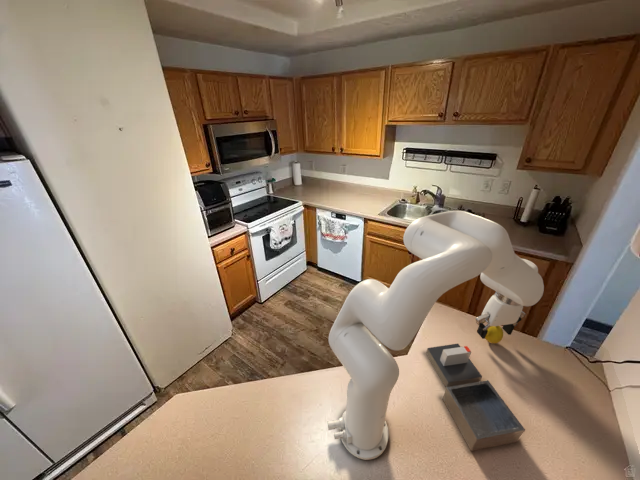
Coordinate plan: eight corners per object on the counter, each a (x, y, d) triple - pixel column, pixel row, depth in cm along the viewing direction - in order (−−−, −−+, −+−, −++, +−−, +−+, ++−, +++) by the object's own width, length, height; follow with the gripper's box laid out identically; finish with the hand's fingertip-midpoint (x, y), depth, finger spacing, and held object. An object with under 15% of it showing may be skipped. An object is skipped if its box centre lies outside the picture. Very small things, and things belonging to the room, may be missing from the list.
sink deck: (446, 388, 77) (448, 382, 75) (425, 353, 87) (427, 347, 86) (479, 382, 78) (482, 376, 77) (456, 349, 88) (458, 343, 87)
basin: (470, 450, 63) (477, 439, 60) (442, 399, 74) (446, 387, 71) (517, 441, 65) (525, 429, 62) (482, 392, 76) (488, 380, 73)
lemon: (484, 332, 94) (491, 316, 90) (501, 342, 91) (509, 326, 87) (478, 340, 91) (484, 324, 87) (495, 351, 87) (502, 334, 84)
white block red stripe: (443, 366, 80) (447, 355, 77) (439, 360, 82) (443, 349, 79) (467, 362, 81) (471, 351, 78) (463, 356, 83) (467, 345, 80)
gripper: (524, 284, 85) (507, 322, 93) (476, 290, 83) (463, 328, 91) (545, 300, 78) (525, 338, 87) (493, 307, 76) (477, 346, 85)
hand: (493, 333), depth 89 cm, fingers open, 9 cm apart
